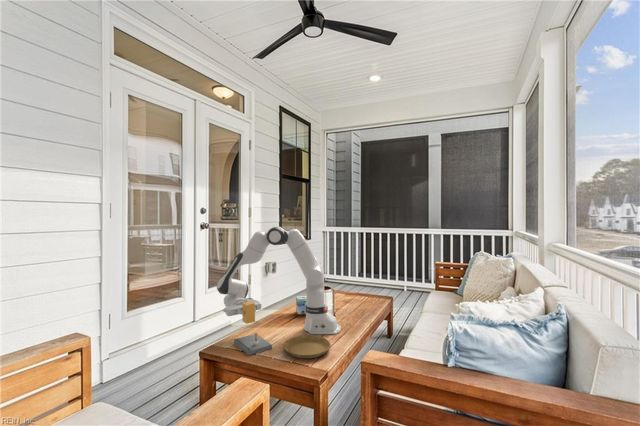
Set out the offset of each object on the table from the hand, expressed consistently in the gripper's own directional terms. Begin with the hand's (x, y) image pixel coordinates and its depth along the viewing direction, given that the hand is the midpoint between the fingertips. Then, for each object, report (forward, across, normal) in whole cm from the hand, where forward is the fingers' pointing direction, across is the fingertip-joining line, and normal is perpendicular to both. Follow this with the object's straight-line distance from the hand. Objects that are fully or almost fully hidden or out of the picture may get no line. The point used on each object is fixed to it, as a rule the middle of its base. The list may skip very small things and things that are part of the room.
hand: (249, 311), depth 175 cm
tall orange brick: (-1, 0, +6) cm, 6 cm away
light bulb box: (-25, +53, +18) cm, 61 cm away
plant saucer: (+26, +20, +18) cm, 37 cm away
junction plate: (+4, 0, +17) cm, 18 cm away
